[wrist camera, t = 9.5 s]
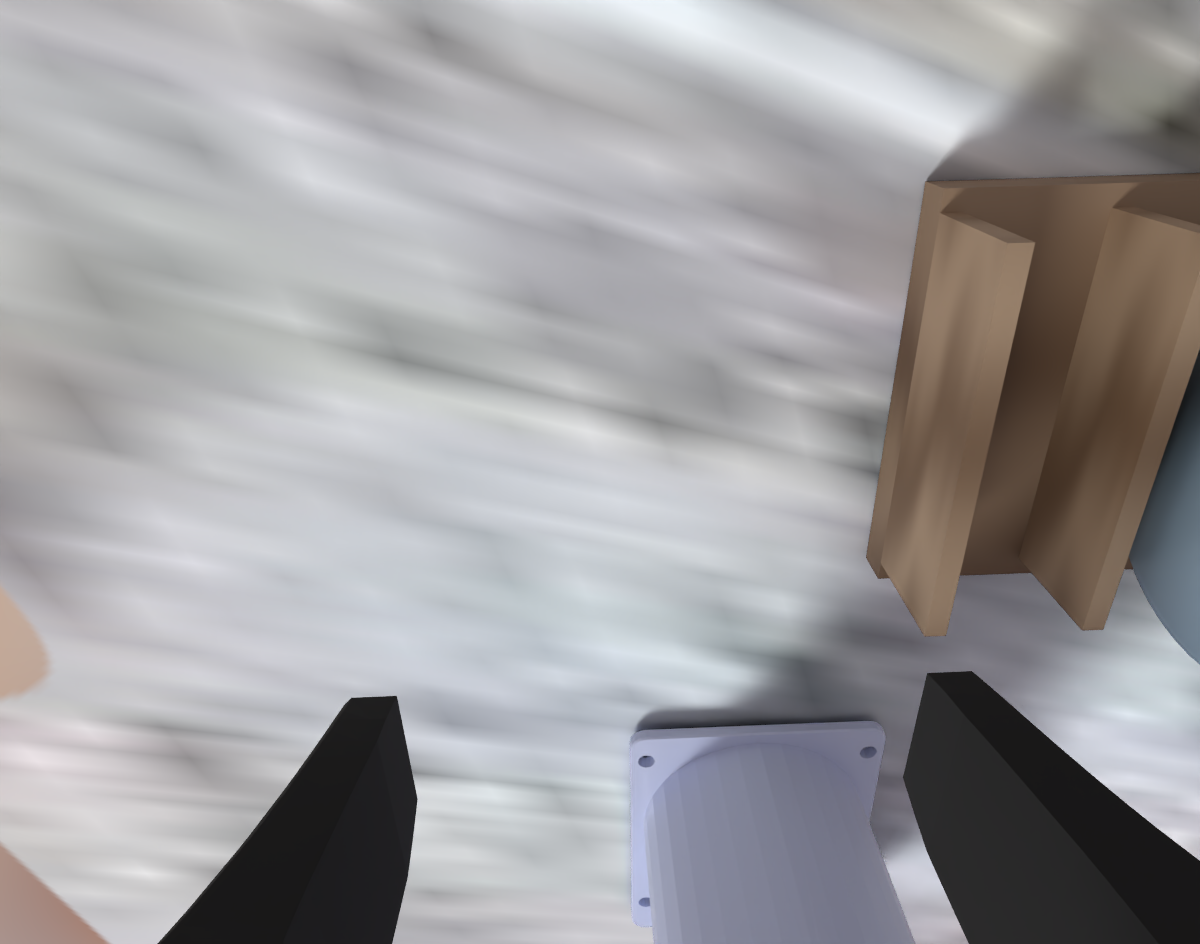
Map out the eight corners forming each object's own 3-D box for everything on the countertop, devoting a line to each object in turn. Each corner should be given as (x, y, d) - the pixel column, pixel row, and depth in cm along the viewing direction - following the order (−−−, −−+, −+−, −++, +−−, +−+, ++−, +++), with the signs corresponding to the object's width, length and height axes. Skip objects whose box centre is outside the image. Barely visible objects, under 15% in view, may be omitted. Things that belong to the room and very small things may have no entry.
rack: (1275, 542, 22) (1405, 634, 19) (865, 557, 22) (920, 653, 19) (1441, 165, 18) (1656, 194, 14) (925, 181, 18) (1013, 214, 14)
